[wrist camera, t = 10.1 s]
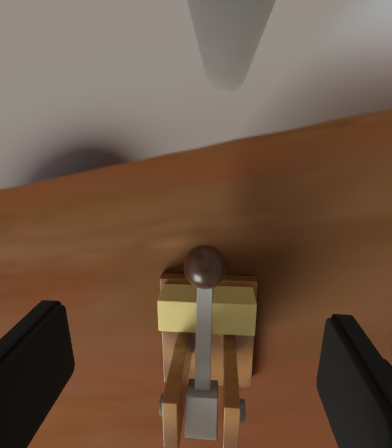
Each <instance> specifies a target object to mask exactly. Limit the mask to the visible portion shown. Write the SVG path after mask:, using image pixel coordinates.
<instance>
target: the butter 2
mask: <svg viewBox="0 0 392 448" xmlns="http://www.w3.org/2000/svg"><path fill="white" fill-rule="evenodd" d="M256 311H257V304H256V299H255V294H254V290H253V287H235V286H217V287H215V288H213V303H212V334H225V335H244V336H255V326H256Z"/></svg>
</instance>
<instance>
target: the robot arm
mask: <svg viewBox="0 0 392 448" xmlns="http://www.w3.org/2000/svg"><path fill="white" fill-rule="evenodd" d="M74 367H75V362H74V356H73V350H72V344H71V338H70V332H69V326H68V320H67V314H66V309H65V306H63V305H61V303H60V302H59V301H48V300H43V301H41V302H40V303H39V304H38V305H37V306H35V307H34V308H33V309H32V310H31V311H30V312H29V313H28V314H27V315H26V316H25V317H24V318H23V319H22V320H21V321H19V322H18V323H17V324H16V325H15V326H14V327H13V328H12V329H11V330H10V331H9V332H8V333H7V334H6V335H4V336H3V337H2V338H1V339H0V448H27V447H28V445H29V443H30V442H31V440H32V439H33V437H34V435H35V434H36V432H37V430H38V429H39V427H40V426H41V424H42V422H43V421H44V419H45V417H46V416H47V414H48V413H49V411H50V409H51V408H52V406H53V405H54V403H55V401H56V400H57V398H58V396H59V395H60V393H61V392H62V390H63V388H64V387H65V385H66V384H67V382H68V380H69V379H70V377H71V375H72V374H73V371H74ZM317 390H318V393H319V396H320V398H321V401H322V404H323V407H324V409H325V412H326V415H327V417H328V420H329V423H330V426H331V428H332V431H333V434H334V436H335V439H336V442H337V445H338V447H339V448H392V366H391V365H390V364H389V362H388V361H387V360H385V359H383V358H382V357H381V355H380V354H379V352H378V351H377V349H376V348H375V347H374V345H373V344H372V342H371V341H370V340H369V338H368V337H367V335H366V334H365V333H364V331H363V330H362V328H361V327H360V325H359V324H358V323H357V321H356V320H355V318H354V317H353V316H352V315H340V314H333V315H332V317H331V318H328V319H327V320H326V324H325V330H324V336H323V343H322V349H321V355H320V362H319V368H318V374H317Z"/></svg>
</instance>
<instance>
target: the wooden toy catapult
mask: <svg viewBox="0 0 392 448" xmlns="http://www.w3.org/2000/svg"><path fill="white" fill-rule="evenodd" d="M164 284H186V285H192V284H191V283H190V282H189V281H188V280H187V278H186V276H185V274H180V273H162V275H161V277H160V293H161V290H162V288H163V285H164ZM218 286H235V287H253V290H254V294H255V299H256V302H257V287H258V281H257V277H256V276H234V275H226V277H225V279H224V280H223V282H222V283H221V284H220V285H218ZM212 303H213V302H212ZM162 345H163V370H164V382H166V386H165V391H164V393H162V394H161V397H160V402H159V415H160V416H162V419H163V441H164V448H179V445H180V437H181V430H182V423H183V416H184V409H185V396H186V392H187V387H188V382H189V379H190V378H191V379H195V349H196V333H188V332H170V331H162ZM253 348H254V336H244V335H225V334H212V345H211V380H218V386H222V412H223V448H238V443H239V424H240V422H243V423H244V422H245V416H246V412H245V400H244V399H240V396H239V387H246V388H251V378H252V363H253Z"/></svg>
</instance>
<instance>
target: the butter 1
mask: <svg viewBox="0 0 392 448" xmlns="http://www.w3.org/2000/svg"><path fill="white" fill-rule="evenodd" d="M157 306H158V328H159V331H170V332H188V333H196V309H197V287H195V286H193V285H186V284H164V285H163V288H162V290H161V293H160V295H159V298H158V300H157Z"/></svg>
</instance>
